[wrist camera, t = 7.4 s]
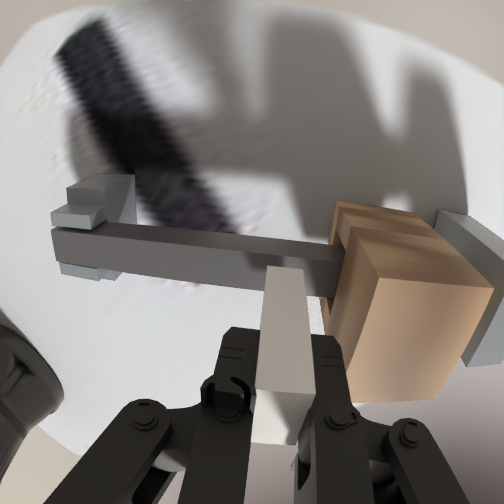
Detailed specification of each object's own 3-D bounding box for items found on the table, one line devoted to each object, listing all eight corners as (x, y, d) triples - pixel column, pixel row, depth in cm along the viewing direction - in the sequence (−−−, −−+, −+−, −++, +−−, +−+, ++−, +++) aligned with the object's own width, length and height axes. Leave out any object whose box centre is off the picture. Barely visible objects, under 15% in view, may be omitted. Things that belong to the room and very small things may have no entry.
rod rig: (105, 249, 22) (36, 315, 14) (99, 173, 19) (10, 214, 11) (446, 287, 21) (499, 363, 12) (469, 216, 18) (545, 274, 10)
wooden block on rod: (318, 292, 19) (333, 402, 11) (335, 200, 16) (379, 277, 9) (389, 298, 19) (433, 399, 11) (414, 212, 16) (494, 288, 8)
